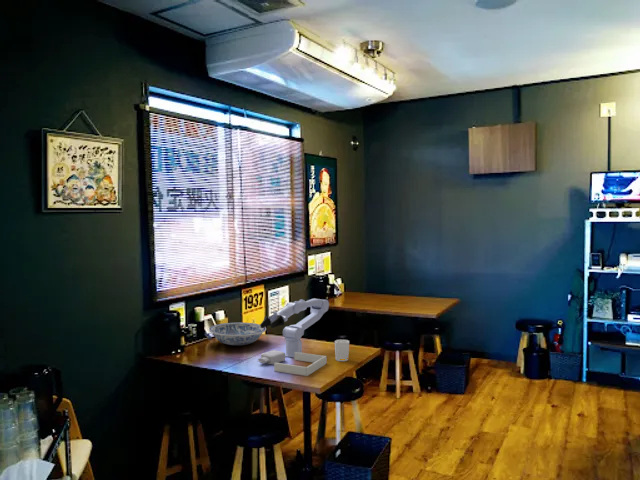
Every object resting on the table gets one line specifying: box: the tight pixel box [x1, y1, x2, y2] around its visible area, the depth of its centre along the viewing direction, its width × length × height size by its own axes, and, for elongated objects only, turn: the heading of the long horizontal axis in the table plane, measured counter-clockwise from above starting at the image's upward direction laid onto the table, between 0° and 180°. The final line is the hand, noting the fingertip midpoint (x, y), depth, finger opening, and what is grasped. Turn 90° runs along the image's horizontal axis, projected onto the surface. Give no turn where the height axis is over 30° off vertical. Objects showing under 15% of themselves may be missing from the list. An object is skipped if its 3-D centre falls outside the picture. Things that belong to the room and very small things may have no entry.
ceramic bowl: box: [208, 321, 267, 346], centre depth 294 cm, size 34×34×10 cm
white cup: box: [334, 339, 350, 362], centre depth 260 cm, size 8×8×10 cm
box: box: [273, 352, 328, 377], centre depth 247 cm, size 22×18×4 cm
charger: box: [257, 349, 286, 365], centre depth 256 cm, size 5×9×15 cm
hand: (266, 326), depth 251 cm, fingers open, 7 cm apart
